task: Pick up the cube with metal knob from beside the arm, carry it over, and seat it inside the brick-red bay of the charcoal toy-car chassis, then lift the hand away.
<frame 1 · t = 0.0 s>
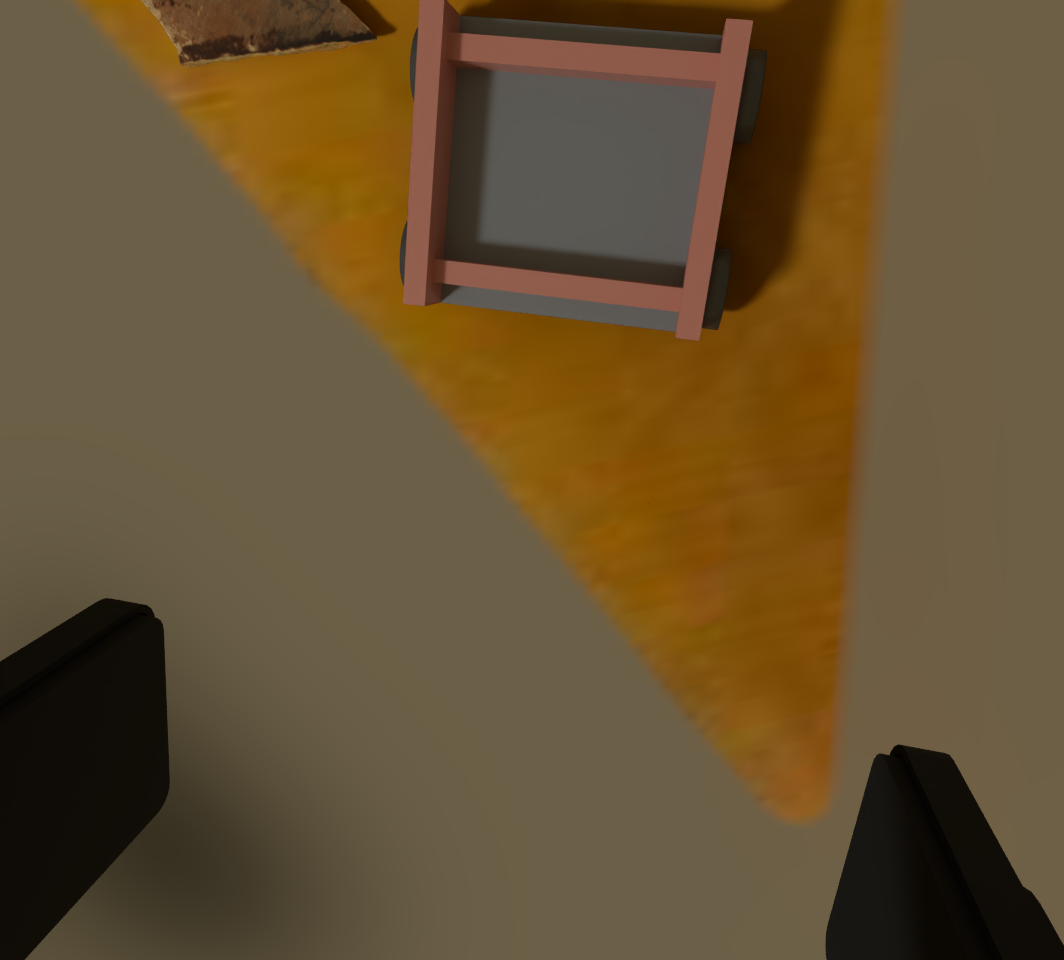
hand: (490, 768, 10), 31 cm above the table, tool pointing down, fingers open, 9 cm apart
chassis: (578, 183, 37), on the table
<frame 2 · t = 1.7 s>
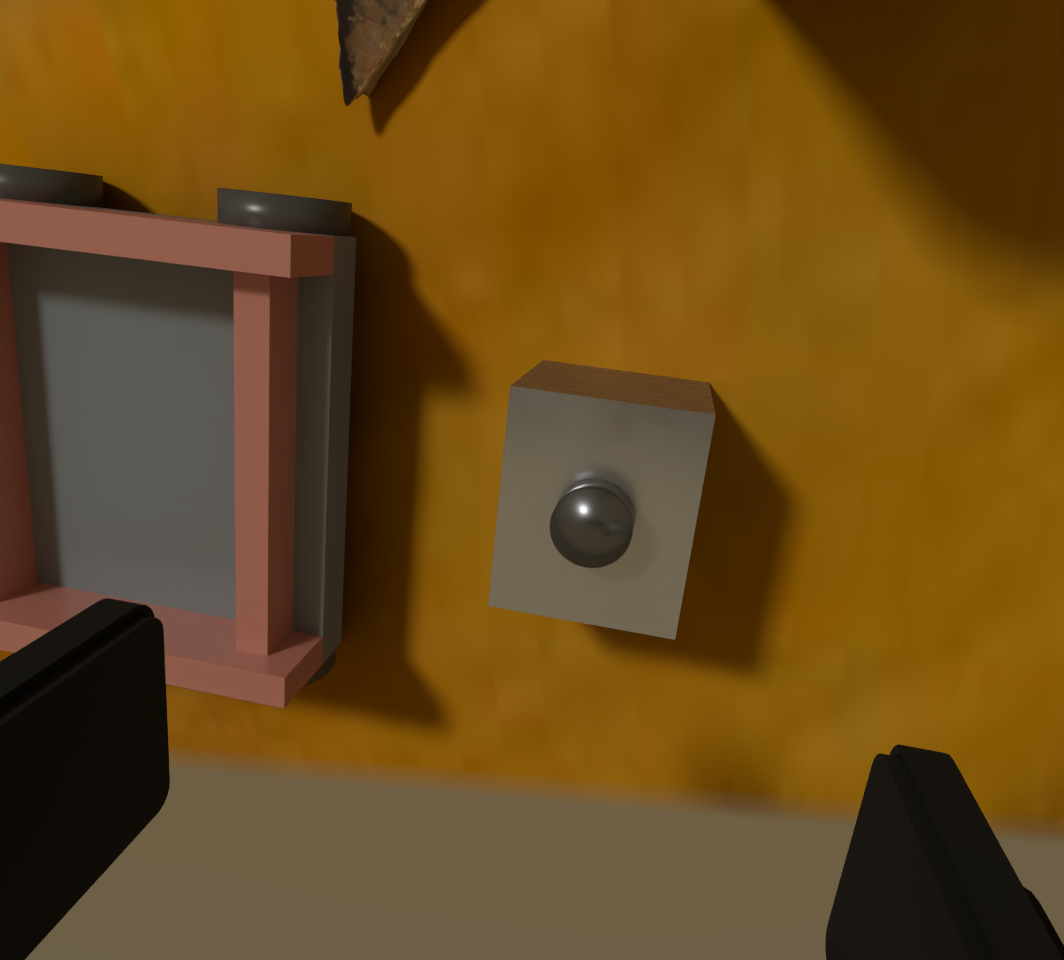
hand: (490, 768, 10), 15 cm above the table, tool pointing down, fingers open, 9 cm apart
cube with metal knob: (611, 465, 25), on the table
chassis: (198, 418, 27), on the table
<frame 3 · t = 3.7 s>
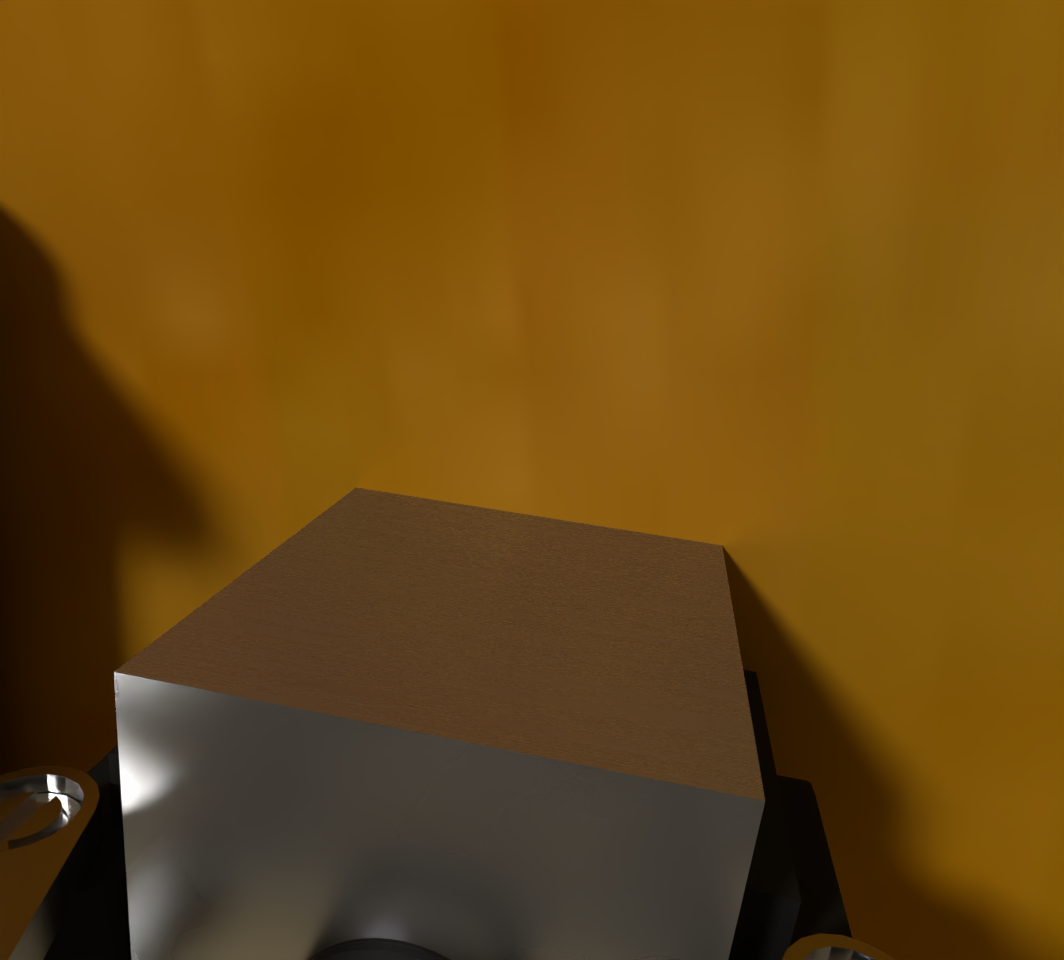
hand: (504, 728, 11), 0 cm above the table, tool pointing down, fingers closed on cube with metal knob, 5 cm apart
cube with metal knob: (511, 708, 11), on the table, touching gripper
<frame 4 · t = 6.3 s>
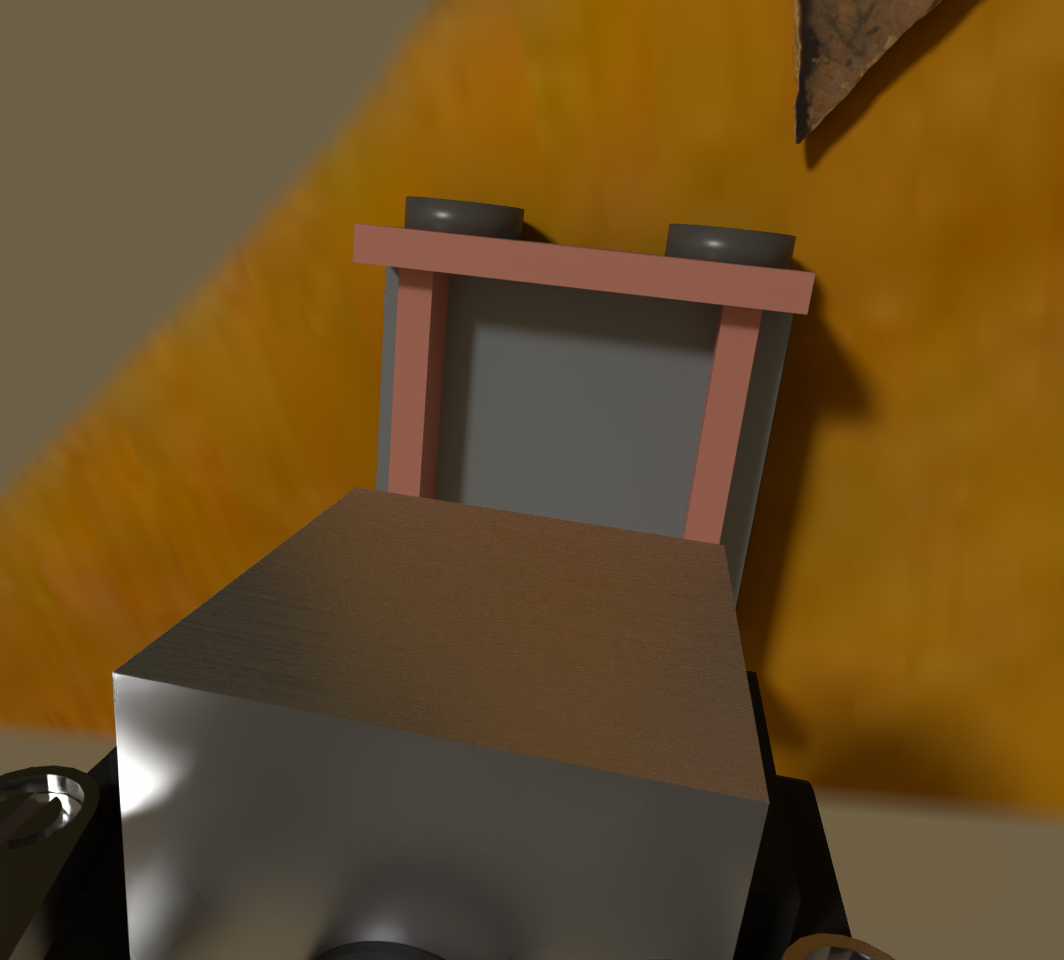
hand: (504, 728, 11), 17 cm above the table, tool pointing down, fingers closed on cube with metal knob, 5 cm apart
cube with metal knob: (512, 708, 11), point 17 cm above the table, touching gripper
chassis: (574, 442, 27), on the table
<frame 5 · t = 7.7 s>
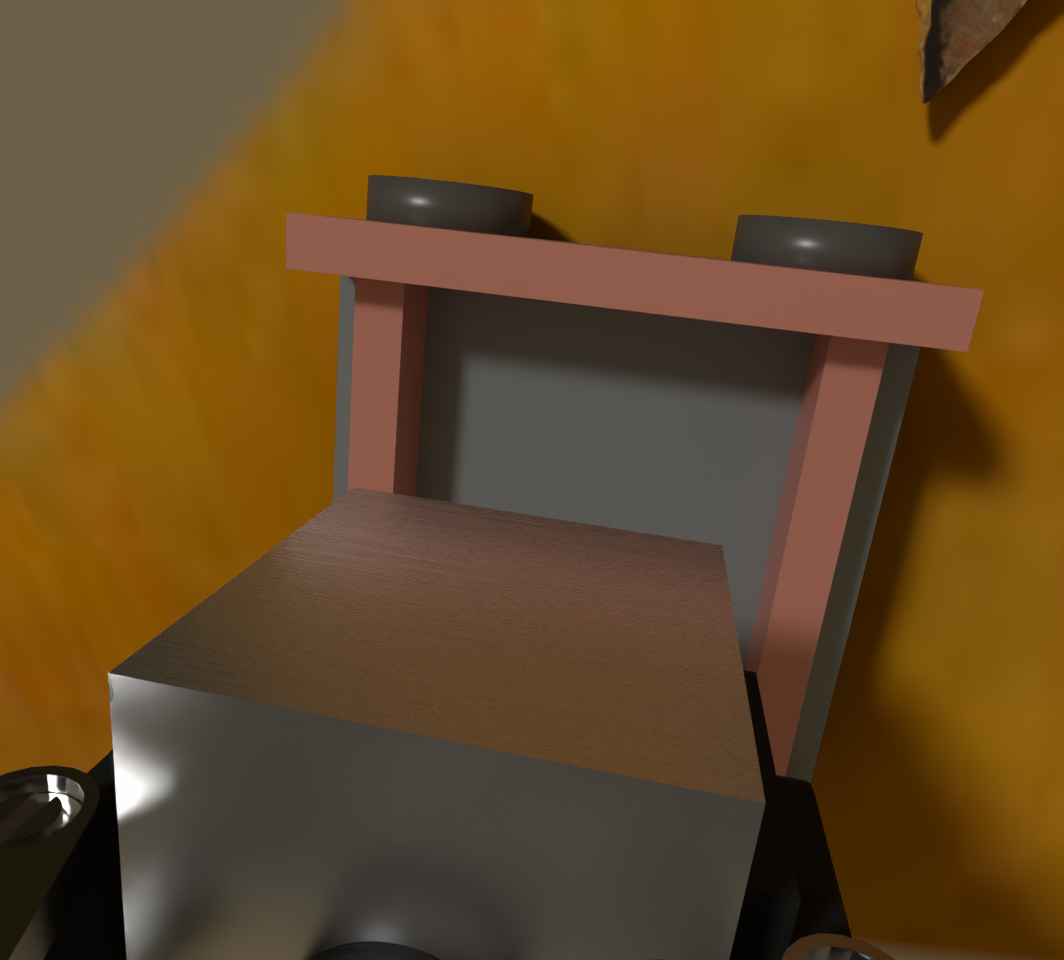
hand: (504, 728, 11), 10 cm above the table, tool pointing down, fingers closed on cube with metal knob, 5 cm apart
cube with metal knob: (510, 709, 11), point 10 cm above the table, touching gripper
chassis: (596, 505, 21), on the table
when the fingers open (5 cm above the table, at t = 9.0 s): cube with metal knob drops 2 cm, resting on chassis.
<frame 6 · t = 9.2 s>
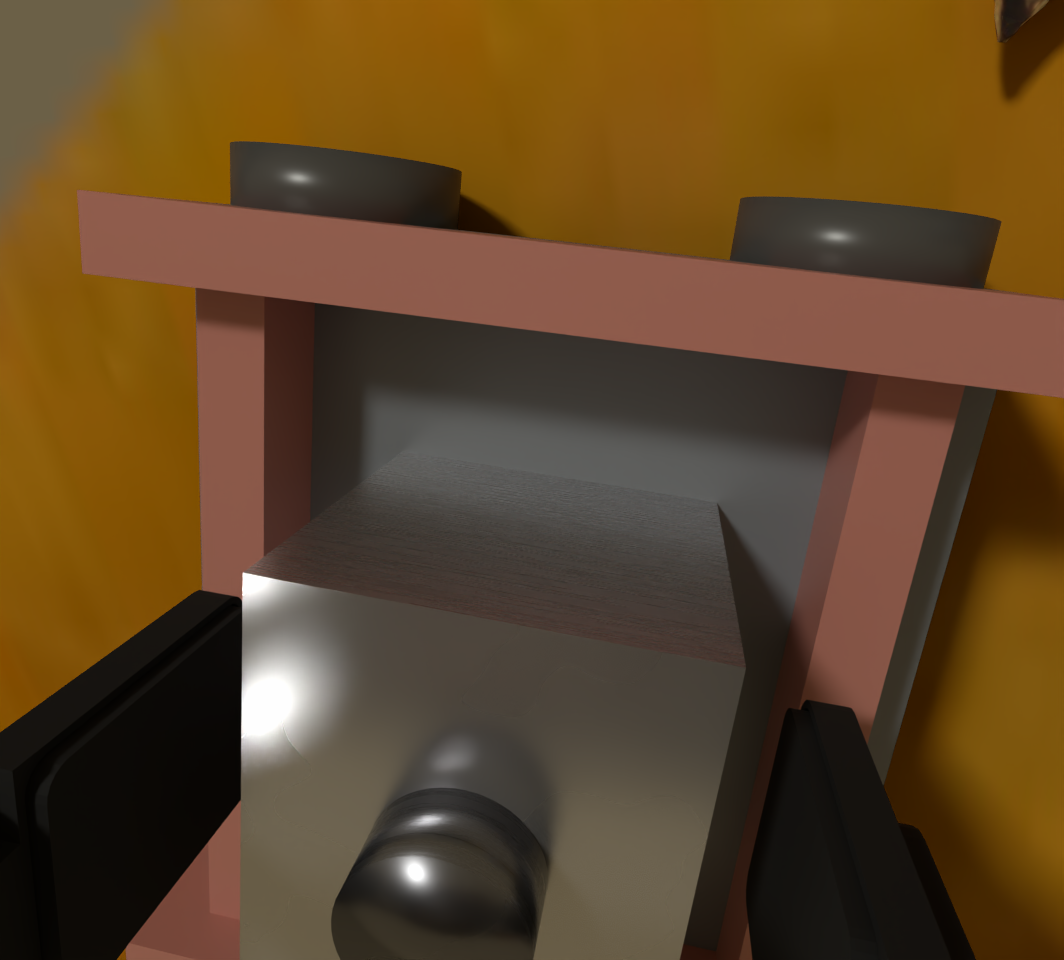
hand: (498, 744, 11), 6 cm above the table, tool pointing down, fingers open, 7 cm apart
cube with metal knob: (533, 645, 13), point 3 cm above the table, touching chassis
chassis: (557, 575, 16), on the table
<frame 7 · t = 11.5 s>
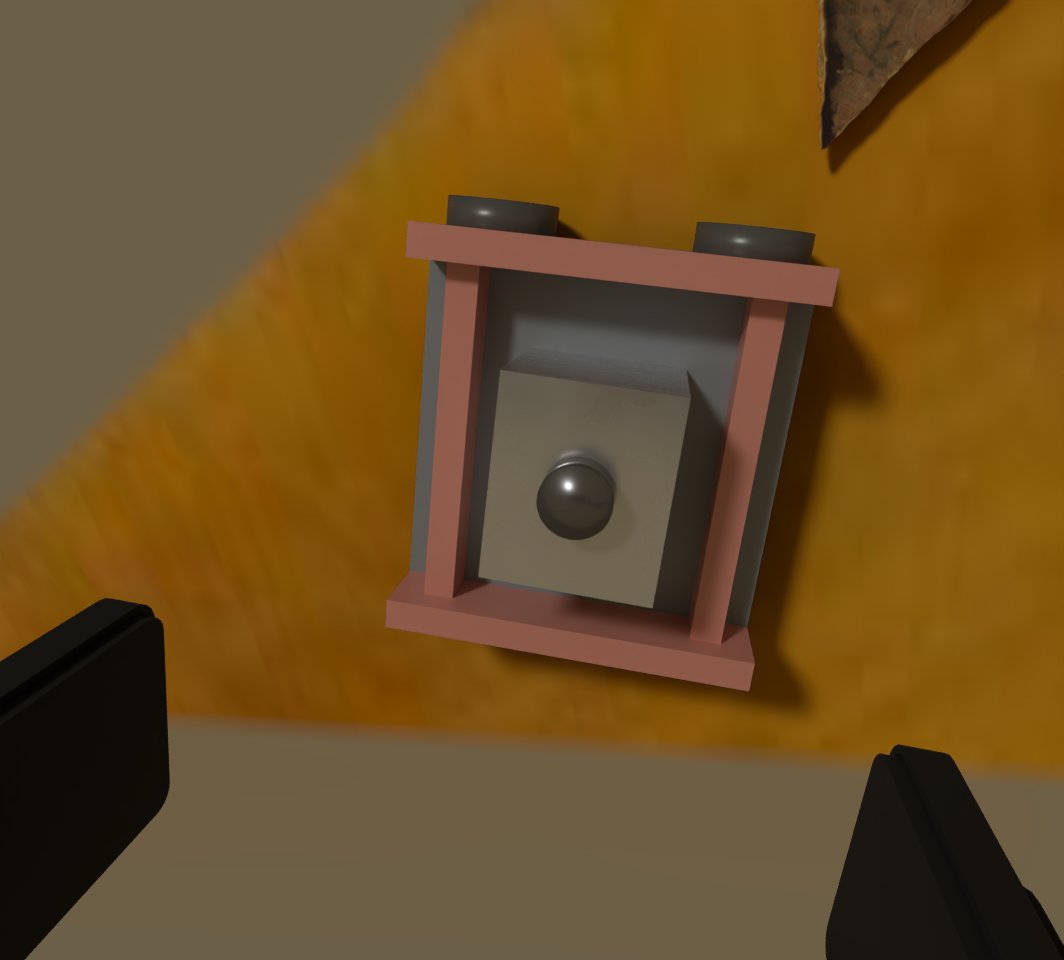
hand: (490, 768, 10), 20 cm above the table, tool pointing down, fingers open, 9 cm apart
cube with metal knob: (594, 447, 26), point 3 cm above the table, touching chassis
chassis: (601, 428, 29), on the table
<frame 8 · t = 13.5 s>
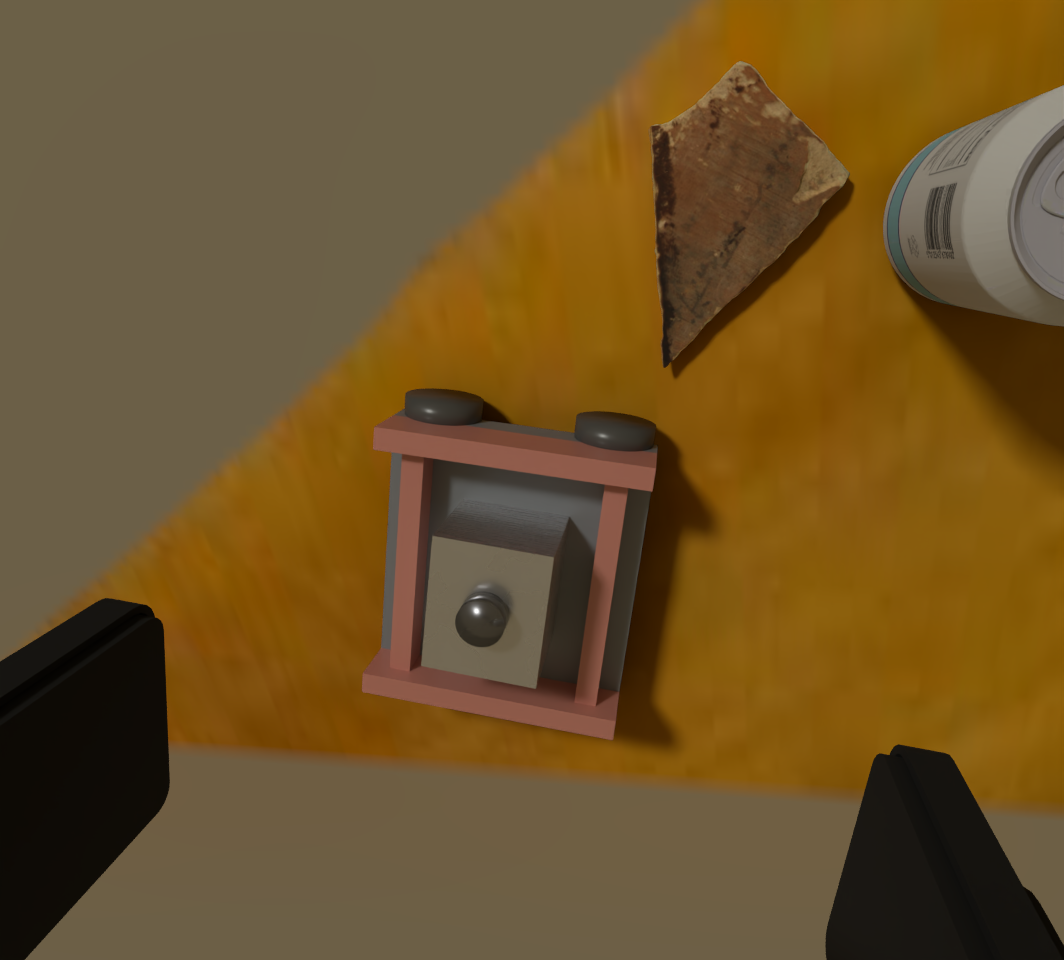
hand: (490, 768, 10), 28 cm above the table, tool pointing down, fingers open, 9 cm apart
shard: (745, 220, 35), on the table
beverage can: (964, 218, 33), on the table
cube with metal knob: (508, 567, 37), point 3 cm above the table, touching chassis
chassis: (520, 544, 40), on the table
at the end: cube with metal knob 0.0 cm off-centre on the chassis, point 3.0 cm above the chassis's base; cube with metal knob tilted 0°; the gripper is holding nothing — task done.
